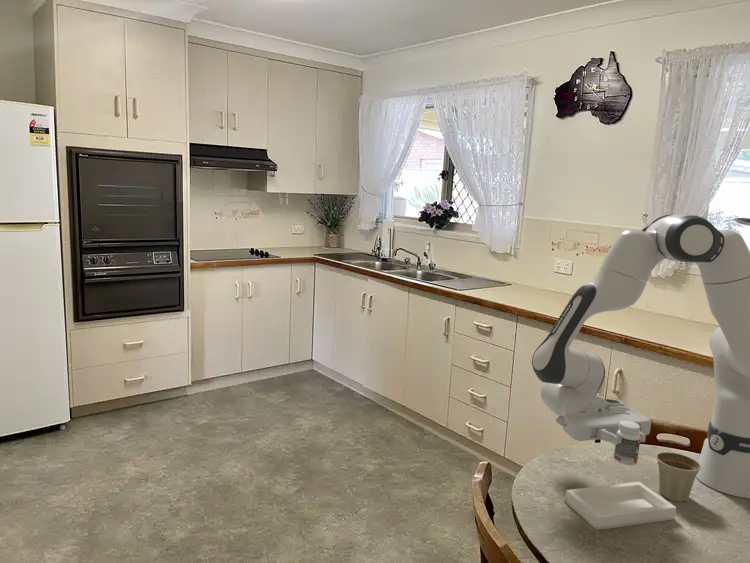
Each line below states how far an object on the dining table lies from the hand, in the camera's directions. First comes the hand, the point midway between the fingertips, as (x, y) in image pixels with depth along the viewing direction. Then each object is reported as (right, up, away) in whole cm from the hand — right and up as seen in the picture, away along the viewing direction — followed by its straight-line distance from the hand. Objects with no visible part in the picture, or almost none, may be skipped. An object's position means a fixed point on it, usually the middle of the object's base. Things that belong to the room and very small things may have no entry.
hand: (631, 440), depth 120 cm
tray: (-1, -16, +3) cm, 17 cm away
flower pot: (+15, -16, +11) cm, 25 cm away
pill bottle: (-1, -5, +2) cm, 5 cm away
